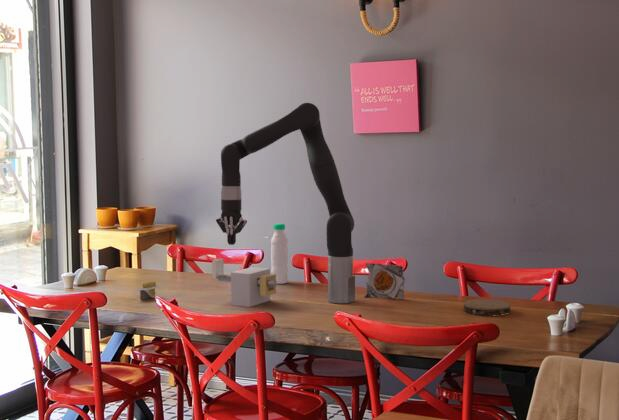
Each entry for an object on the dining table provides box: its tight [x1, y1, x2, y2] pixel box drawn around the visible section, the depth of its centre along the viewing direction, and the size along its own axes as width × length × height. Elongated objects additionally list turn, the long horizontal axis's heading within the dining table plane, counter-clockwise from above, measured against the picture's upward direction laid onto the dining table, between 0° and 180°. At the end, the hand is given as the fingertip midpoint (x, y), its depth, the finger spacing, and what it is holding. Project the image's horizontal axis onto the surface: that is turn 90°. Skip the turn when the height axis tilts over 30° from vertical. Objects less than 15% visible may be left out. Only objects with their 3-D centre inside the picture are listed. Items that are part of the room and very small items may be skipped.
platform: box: [136, 281, 160, 301], centre depth 308 cm, size 12×18×7 cm, turn 153°
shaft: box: [211, 258, 278, 288], centre depth 301 cm, size 26×5×8 cm, turn 61°
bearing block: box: [230, 266, 271, 308], centre depth 300 cm, size 8×14×12 cm, turn 151°
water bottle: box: [270, 223, 289, 285], centre depth 340 cm, size 7×7×25 cm
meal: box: [363, 262, 406, 300], centre depth 308 cm, size 15×4×13 cm, turn 69°
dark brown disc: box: [463, 299, 511, 317], centre depth 285 cm, size 16×16×3 cm
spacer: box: [260, 273, 277, 296], centre depth 297 cm, size 2×7×7 cm, turn 151°
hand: (231, 244), depth 303 cm, fingers closed
